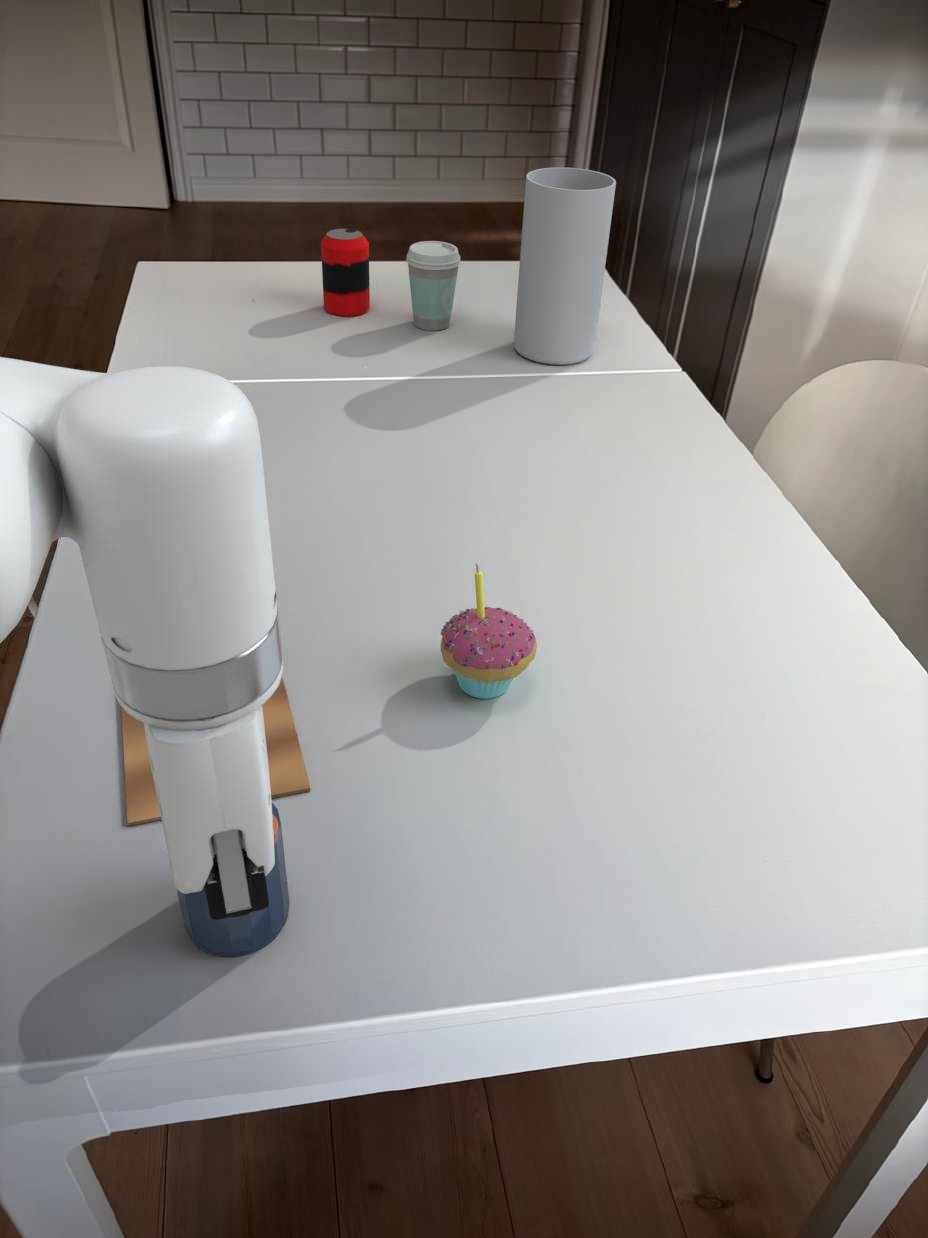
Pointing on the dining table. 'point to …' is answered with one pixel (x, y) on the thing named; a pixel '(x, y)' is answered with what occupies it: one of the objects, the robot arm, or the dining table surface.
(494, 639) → the cupcake
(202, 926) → the cup
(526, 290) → the cylinder vase
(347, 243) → the soda can
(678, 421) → the dining table surface
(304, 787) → the placemat
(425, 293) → the coffee cup
